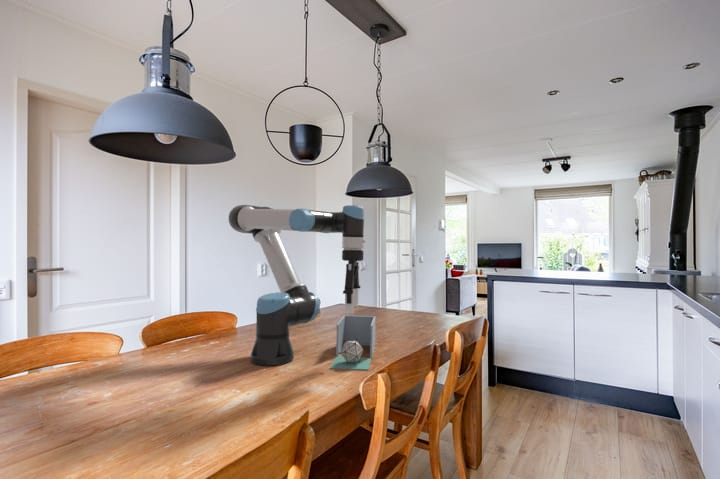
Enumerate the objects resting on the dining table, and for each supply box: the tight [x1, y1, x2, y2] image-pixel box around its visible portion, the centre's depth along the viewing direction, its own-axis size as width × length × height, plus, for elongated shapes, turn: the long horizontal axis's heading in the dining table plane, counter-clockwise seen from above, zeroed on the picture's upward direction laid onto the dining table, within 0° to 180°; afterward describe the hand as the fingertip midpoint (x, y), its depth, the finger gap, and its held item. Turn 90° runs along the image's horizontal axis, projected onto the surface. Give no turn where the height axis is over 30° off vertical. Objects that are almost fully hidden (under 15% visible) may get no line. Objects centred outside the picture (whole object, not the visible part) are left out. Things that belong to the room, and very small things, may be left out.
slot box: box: [335, 314, 376, 359], centre depth 147 cm, size 13×18×12 cm
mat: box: [329, 356, 372, 371], centre depth 130 cm, size 13×12×1 cm
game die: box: [338, 339, 366, 364], centre depth 130 cm, size 9×8×10 cm
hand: (351, 309), depth 131 cm, fingers open, 13 cm apart
